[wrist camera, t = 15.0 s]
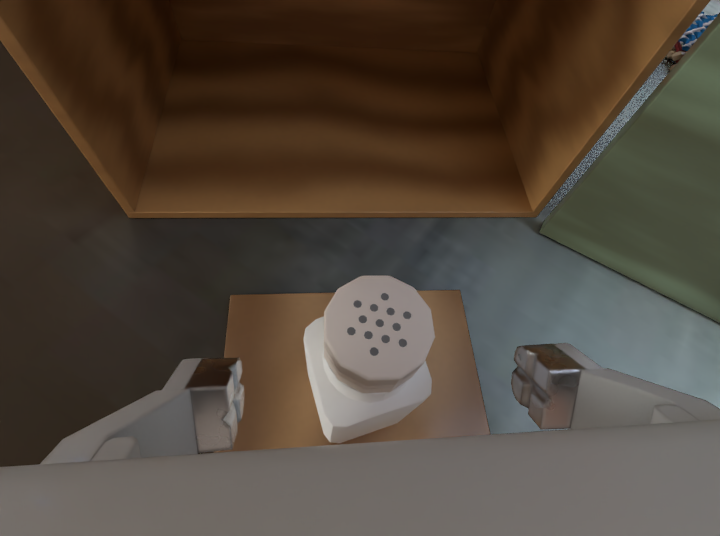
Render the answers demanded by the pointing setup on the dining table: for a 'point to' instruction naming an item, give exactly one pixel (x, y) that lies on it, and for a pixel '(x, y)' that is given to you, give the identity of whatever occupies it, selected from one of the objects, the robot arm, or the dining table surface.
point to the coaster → (292, 385)
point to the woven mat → (690, 37)
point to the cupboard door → (658, 188)
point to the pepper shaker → (369, 356)
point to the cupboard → (338, 98)
